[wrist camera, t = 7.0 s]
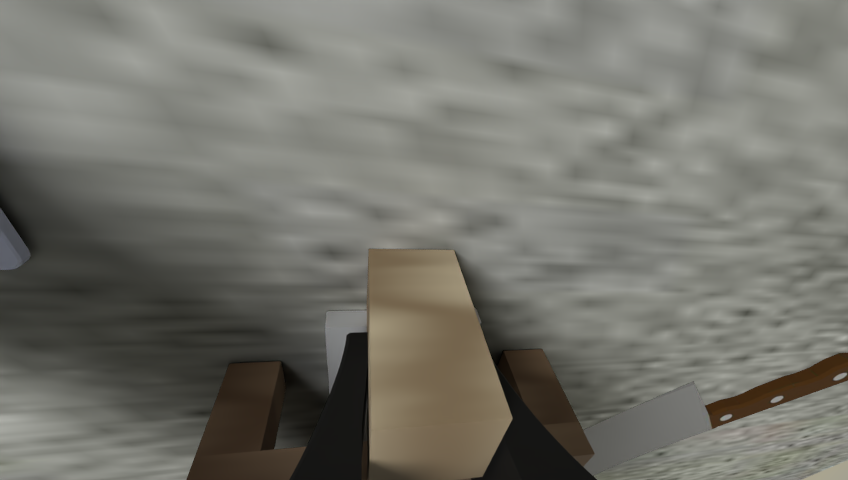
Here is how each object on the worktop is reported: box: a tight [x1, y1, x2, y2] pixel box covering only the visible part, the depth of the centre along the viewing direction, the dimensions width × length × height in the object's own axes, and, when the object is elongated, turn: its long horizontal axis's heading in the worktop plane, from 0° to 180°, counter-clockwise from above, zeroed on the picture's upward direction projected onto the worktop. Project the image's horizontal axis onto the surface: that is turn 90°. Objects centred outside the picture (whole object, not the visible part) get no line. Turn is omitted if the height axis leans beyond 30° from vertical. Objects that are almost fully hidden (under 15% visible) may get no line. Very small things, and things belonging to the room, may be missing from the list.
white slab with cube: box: [325, 249, 513, 480], centre depth 14 cm, size 6×16×6 cm, turn 173°
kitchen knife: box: [583, 353, 848, 476], centre depth 23 cm, size 24×1×10 cm
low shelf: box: [187, 349, 595, 480], centre depth 16 cm, size 14×11×5 cm
